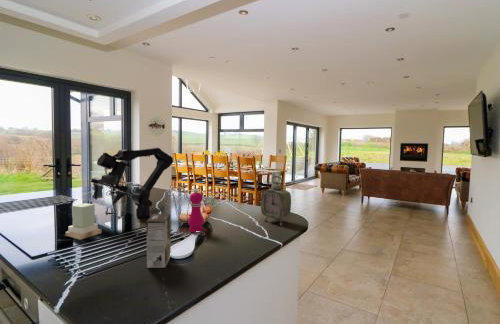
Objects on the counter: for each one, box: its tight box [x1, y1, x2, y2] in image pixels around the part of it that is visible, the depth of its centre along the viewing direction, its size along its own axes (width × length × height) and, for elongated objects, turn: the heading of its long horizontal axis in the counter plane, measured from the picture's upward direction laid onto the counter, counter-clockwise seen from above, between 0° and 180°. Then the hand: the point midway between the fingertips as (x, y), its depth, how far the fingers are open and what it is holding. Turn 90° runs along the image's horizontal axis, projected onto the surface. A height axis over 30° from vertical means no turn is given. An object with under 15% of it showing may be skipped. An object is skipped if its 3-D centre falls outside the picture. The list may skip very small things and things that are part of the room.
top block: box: [67, 222, 99, 234], centre depth 123 cm, size 8×8×2 cm
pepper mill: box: [187, 188, 205, 234], centre depth 131 cm, size 7×7×20 cm
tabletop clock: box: [260, 175, 292, 226], centre depth 147 cm, size 14×9×25 cm, turn 47°
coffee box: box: [146, 213, 172, 269], centre depth 96 cm, size 9×6×16 cm
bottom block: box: [65, 228, 102, 241], centre depth 123 cm, size 10×10×2 cm
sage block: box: [71, 202, 96, 228], centre depth 123 cm, size 6×6×9 cm
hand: (104, 202), depth 136 cm, fingers open, 9 cm apart
